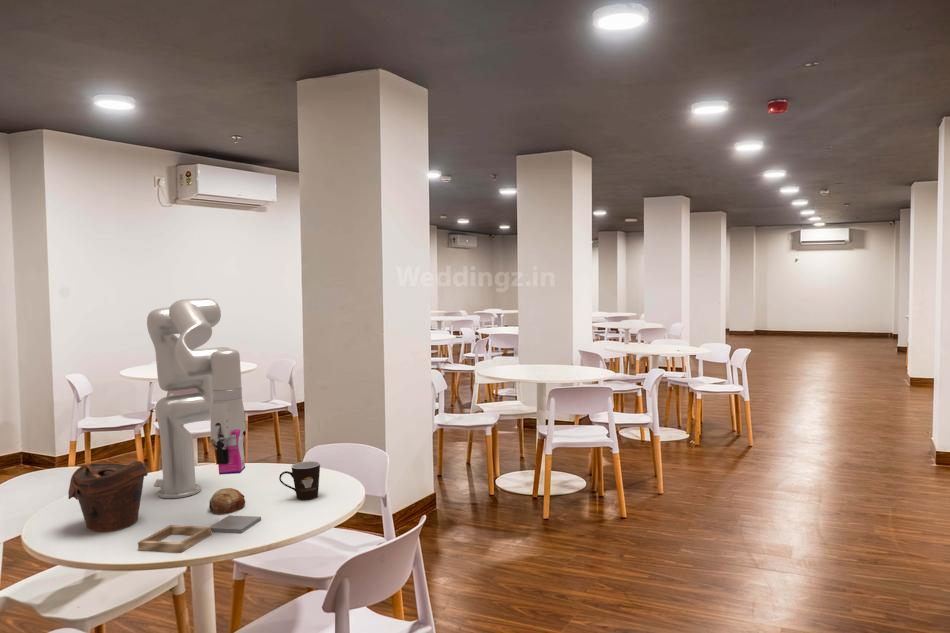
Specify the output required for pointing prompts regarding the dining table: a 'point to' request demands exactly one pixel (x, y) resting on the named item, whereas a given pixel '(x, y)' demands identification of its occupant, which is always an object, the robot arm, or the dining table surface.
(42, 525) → the dining table surface
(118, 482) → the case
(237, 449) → the supplement box
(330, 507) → the dining table surface
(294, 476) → the coffee mug
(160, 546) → the oak pocket frame
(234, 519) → the stone pad
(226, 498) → the bread roll
